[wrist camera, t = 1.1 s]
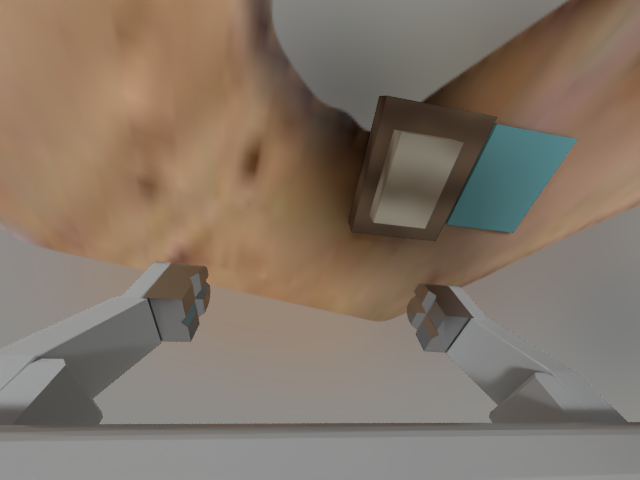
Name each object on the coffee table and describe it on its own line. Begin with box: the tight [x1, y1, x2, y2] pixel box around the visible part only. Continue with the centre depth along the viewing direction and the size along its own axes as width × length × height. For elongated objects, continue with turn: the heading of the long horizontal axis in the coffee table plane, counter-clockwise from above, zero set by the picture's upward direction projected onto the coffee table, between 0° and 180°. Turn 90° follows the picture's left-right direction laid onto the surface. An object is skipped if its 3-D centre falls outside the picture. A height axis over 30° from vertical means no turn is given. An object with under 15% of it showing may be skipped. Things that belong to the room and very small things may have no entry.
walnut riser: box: [348, 96, 497, 241], centre depth 25 cm, size 14×11×2 cm
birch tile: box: [369, 130, 463, 229], centre depth 23 cm, size 9×6×2 cm, turn 171°
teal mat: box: [445, 124, 577, 233], centre depth 28 cm, size 12×10×1 cm
